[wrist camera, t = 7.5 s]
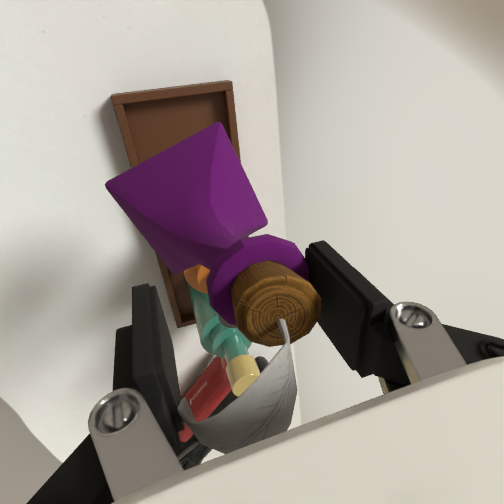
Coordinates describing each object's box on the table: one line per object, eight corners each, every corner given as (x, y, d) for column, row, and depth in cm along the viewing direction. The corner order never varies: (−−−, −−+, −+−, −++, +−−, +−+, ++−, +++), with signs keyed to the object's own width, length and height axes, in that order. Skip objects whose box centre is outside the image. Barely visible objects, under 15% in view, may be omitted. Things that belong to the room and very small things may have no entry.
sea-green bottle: (181, 265, 42) (208, 374, 28) (229, 254, 44) (278, 352, 29) (190, 302, 46) (219, 418, 31) (234, 291, 47) (281, 396, 32)
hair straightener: (110, 487, 61) (107, 540, 55) (221, 332, 51) (235, 373, 44) (182, 488, 69) (188, 534, 62) (292, 353, 59) (313, 391, 52)
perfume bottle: (210, 111, 21) (369, 254, 6) (256, 205, 25) (413, 425, 10) (108, 167, 21) (13, 445, 6) (170, 251, 25) (205, 536, 10)
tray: (111, 94, 31) (110, 95, 30) (227, 80, 34) (232, 81, 32) (175, 319, 47) (177, 328, 45) (252, 298, 49) (256, 306, 48)
